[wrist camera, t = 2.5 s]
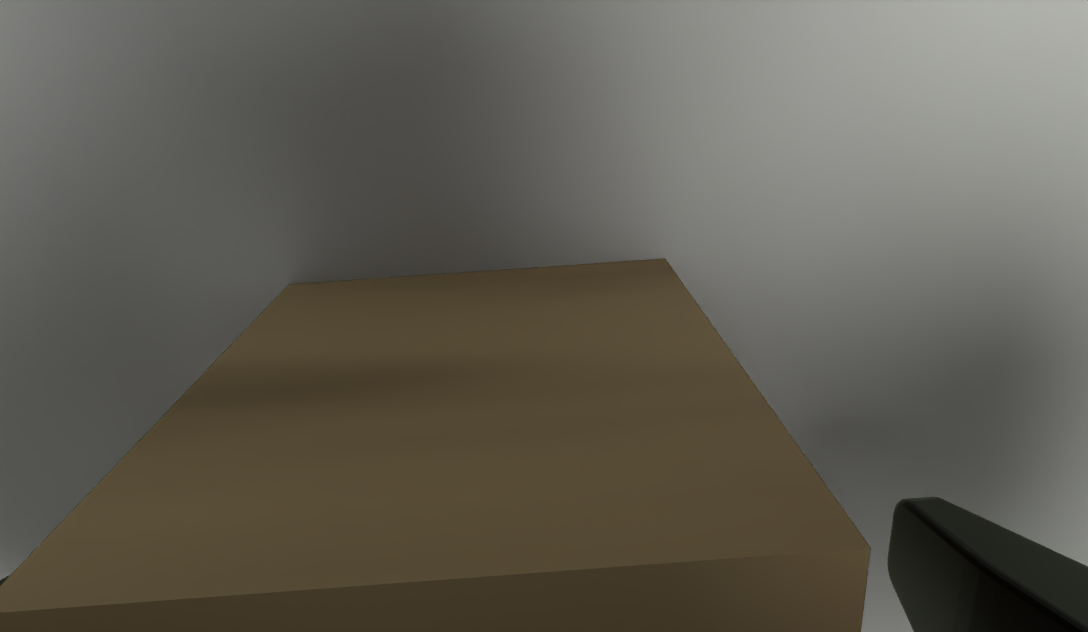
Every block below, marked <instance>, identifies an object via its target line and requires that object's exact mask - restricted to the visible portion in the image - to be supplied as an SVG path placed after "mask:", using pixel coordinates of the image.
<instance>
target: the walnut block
mask: <svg viewBox="0 0 1088 632" xmlns="http://www.w3.org/2000/svg"><path fill="white" fill-rule="evenodd" d="M870 549H871V548H870V546H869V545H868V543H867V542H866V541H865V539H864V538H863V536H862V535H861V534H860V532H859V531H858V529H857V528H856V527H855V525H854V524H853V522H852V521H851V520H850V518H849V517H848V515H847V514H846V513H845V511H844V510H843V508H842V507H841V505H840V504H839V503H838V501H837V500H836V498H835V497H834V496H833V494H832V493H831V491H830V490H829V489H828V487H827V486H826V484H825V483H824V482H823V480H822V479H821V477H820V476H819V475H818V473H817V472H816V470H815V469H814V467H813V466H812V465H811V463H810V462H809V460H808V459H807V458H806V456H805V455H804V453H803V452H802V451H801V449H800V448H799V446H798V445H797V444H796V442H795V441H794V439H793V438H792V436H791V435H790V434H789V432H788V431H787V429H786V428H785V427H784V425H783V424H782V422H781V421H780V420H779V418H778V417H777V415H776V414H775V413H774V411H773V410H772V408H771V407H770V406H769V404H768V403H767V401H766V400H765V398H764V397H763V396H762V394H761V393H760V391H759V390H758V389H757V387H756V386H755V384H754V383H753V382H752V380H751V379H750V377H749V376H748V375H747V373H746V372H745V370H744V369H743V368H742V366H741V365H740V363H739V362H738V360H737V359H736V358H735V356H734V355H733V353H732V352H731V351H730V349H729V348H728V346H727V345H726V344H725V342H724V341H723V339H722V338H721V337H720V335H719V334H718V332H717V331H716V330H715V328H714V327H713V325H712V324H711V322H710V321H709V320H708V318H707V317H706V315H705V314H704V313H703V311H702V310H701V308H700V307H699V306H698V304H697V303H696V301H695V300H694V299H693V297H692V296H691V294H690V293H689V292H688V290H687V289H686V287H685V286H684V284H683V283H682V282H681V280H680V279H679V277H678V276H677V275H676V273H675V272H674V270H673V269H672V268H671V266H670V265H669V263H668V262H667V261H666V259H652V260H638V261H623V262H608V263H594V264H579V265H565V266H550V267H535V268H521V269H506V270H491V271H477V272H462V273H448V274H433V275H418V276H404V277H389V278H375V279H360V280H345V281H331V282H316V283H302V284H289V285H288V286H287V287H286V288H285V289H284V290H283V291H282V292H281V293H280V294H279V295H278V296H277V297H276V298H275V300H274V301H273V302H272V303H271V304H270V305H269V306H268V307H267V308H266V309H265V310H264V311H263V312H262V313H261V314H260V315H259V316H258V317H257V318H256V319H255V320H254V321H253V322H252V324H251V325H250V326H249V327H248V328H247V329H246V330H245V331H244V332H243V333H242V334H241V335H240V336H239V337H238V338H237V339H236V340H235V341H234V342H233V343H232V344H231V345H230V347H229V348H228V349H227V350H226V351H225V352H224V353H223V354H222V355H221V356H220V357H219V358H218V359H217V360H216V361H215V362H214V363H213V364H212V365H211V366H210V367H209V368H208V370H207V371H206V372H205V373H204V374H203V375H202V376H201V377H200V378H199V379H198V380H197V381H196V382H195V383H194V384H193V385H192V386H191V387H190V388H189V389H188V390H187V391H186V393H185V394H184V395H183V396H182V397H181V398H180V399H179V400H178V401H177V402H176V403H175V404H174V405H173V406H172V407H171V408H170V409H169V410H168V411H167V412H166V413H165V414H164V416H163V417H162V418H161V419H160V420H159V421H158V422H157V423H156V424H155V425H154V426H153V427H152V428H151V429H150V430H149V431H148V432H147V433H146V434H145V435H144V436H143V437H142V438H141V440H140V441H139V442H138V443H137V444H136V445H135V446H134V447H133V448H132V449H131V450H130V451H129V452H128V453H127V454H126V455H125V456H124V457H123V458H122V459H121V460H120V461H119V463H118V464H117V465H116V466H115V467H114V468H113V469H112V470H111V471H110V472H109V473H108V474H107V475H106V476H105V477H104V478H103V479H102V480H101V481H100V482H99V483H98V484H97V486H96V487H95V488H94V489H93V490H92V491H91V492H90V493H89V494H88V495H87V496H86V497H85V498H84V499H83V500H82V501H81V502H80V503H79V504H78V505H77V506H76V507H75V509H74V510H73V511H72V512H71V513H70V514H69V515H68V516H67V517H66V518H65V519H64V520H63V521H62V522H61V523H60V524H59V525H58V526H57V527H56V528H55V529H54V530H53V532H52V533H51V534H50V535H49V536H48V537H47V538H46V539H45V540H44V541H43V542H42V543H41V544H40V545H39V546H38V547H37V548H36V549H35V550H34V551H33V552H32V553H31V555H30V556H29V557H28V558H27V559H26V560H25V561H24V562H23V563H22V564H21V565H20V566H19V567H18V568H17V569H16V570H15V571H14V572H13V573H12V574H11V575H10V576H9V577H8V579H7V580H6V581H5V582H4V583H3V584H2V585H1V586H0V632H861V625H862V617H863V609H864V600H865V592H866V583H867V575H868V566H869V558H870Z"/></svg>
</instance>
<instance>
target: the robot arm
mask: <svg viewBox="0 0 1088 632" xmlns="http://www.w3.org/2000/svg"><path fill="white" fill-rule="evenodd" d="M888 571H889V576H890V579H891V582H892V585H893V587H894V589H895V591H896V593H897V596H898V598H899V600H900V602H901V604H902V607H903V609H904V611H905V613H906V615H907V618H908V620H909V622H910V624H911V626H912V629H913V631H914V632H1088V567H1087V566H1085V565H1083V564H1081V563H1079V562H1077V561H1074V560H1072V559H1070V558H1068V557H1066V556H1064V555H1061V554H1059V553H1057V552H1055V551H1053V550H1051V549H1049V548H1046V547H1044V546H1042V545H1040V544H1038V543H1036V542H1034V541H1031V540H1029V539H1027V538H1025V537H1023V536H1021V535H1019V534H1016V533H1014V532H1012V531H1010V530H1008V529H1006V528H1003V527H1001V526H999V525H997V524H995V523H993V522H991V521H988V520H986V519H984V518H982V517H980V516H978V515H976V514H973V513H971V512H969V511H967V510H965V509H963V508H961V507H958V506H956V505H954V504H952V503H950V502H948V501H945V500H943V499H941V498H938V497H922V498H909V499H902V500H901V501H899V502H898V503H897V505H896V507H895V509H894V514H893V521H892V529H891V537H890V545H889V553H888ZM9 576H10V575H9ZM9 576H7V577H6V578H4V579H2V580H0V586H1V585H2V584H3V583H4V582H5V581H6V580H7V579H8V577H9Z"/></svg>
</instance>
